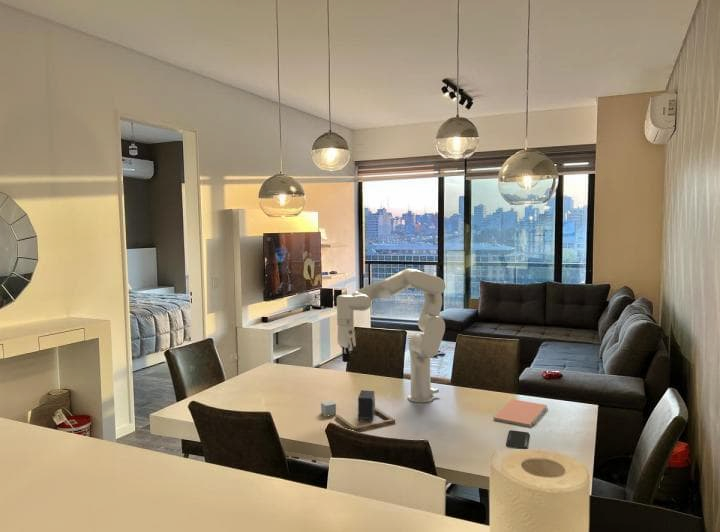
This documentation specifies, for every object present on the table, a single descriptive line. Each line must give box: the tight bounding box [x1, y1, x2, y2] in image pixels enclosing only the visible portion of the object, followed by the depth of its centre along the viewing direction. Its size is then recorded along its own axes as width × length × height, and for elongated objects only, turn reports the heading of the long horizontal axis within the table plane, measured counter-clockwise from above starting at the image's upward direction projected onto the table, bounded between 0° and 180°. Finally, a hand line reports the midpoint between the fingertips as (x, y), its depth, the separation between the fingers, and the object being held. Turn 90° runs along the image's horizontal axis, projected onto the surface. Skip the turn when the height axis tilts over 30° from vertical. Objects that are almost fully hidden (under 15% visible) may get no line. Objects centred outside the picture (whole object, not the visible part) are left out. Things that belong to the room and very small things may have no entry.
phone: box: [505, 429, 530, 450], centre depth 201 cm, size 8×1×15 cm
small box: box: [357, 389, 376, 422], centre depth 228 cm, size 11×6×10 cm, turn 172°
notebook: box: [492, 399, 548, 428], centre depth 229 cm, size 27×17×2 cm, turn 147°
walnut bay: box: [334, 407, 396, 432], centre depth 224 cm, size 20×18×2 cm
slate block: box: [320, 400, 337, 417], centre depth 233 cm, size 5×5×5 cm
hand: (346, 361), depth 238 cm, fingers closed
